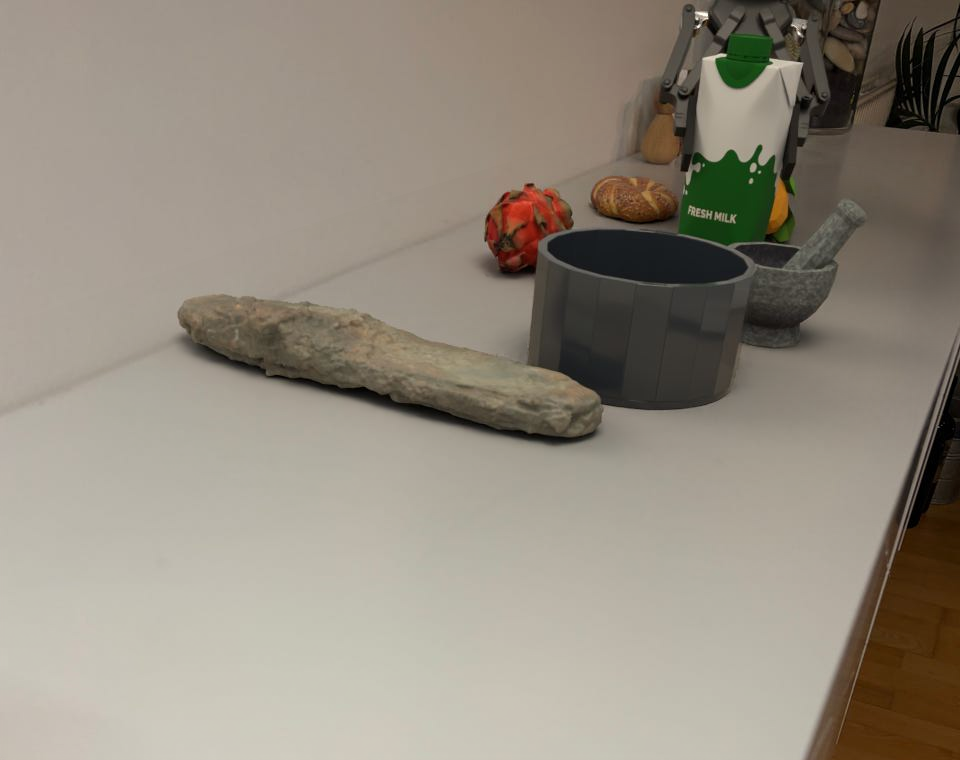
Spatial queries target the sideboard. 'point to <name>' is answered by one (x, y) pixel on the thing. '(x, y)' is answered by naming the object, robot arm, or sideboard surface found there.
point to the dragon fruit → (524, 225)
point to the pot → (641, 314)
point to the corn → (782, 211)
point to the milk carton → (738, 142)
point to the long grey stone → (390, 363)
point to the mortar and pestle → (795, 278)
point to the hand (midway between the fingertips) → (737, 167)
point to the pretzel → (633, 199)
